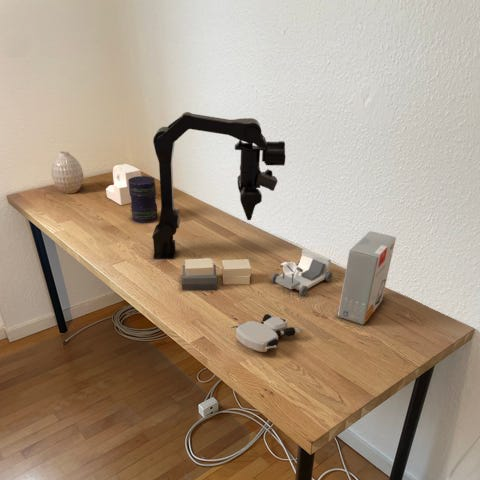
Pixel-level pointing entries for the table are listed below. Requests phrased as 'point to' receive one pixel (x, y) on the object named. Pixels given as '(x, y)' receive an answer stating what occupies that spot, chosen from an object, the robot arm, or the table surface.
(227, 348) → the table surface
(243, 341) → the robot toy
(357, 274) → the hard drive box
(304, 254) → the toy car
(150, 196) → the storage jar
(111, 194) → the tape dispenser
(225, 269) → the beige block
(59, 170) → the vase
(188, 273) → the cream rectangular block
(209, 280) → the grey books
